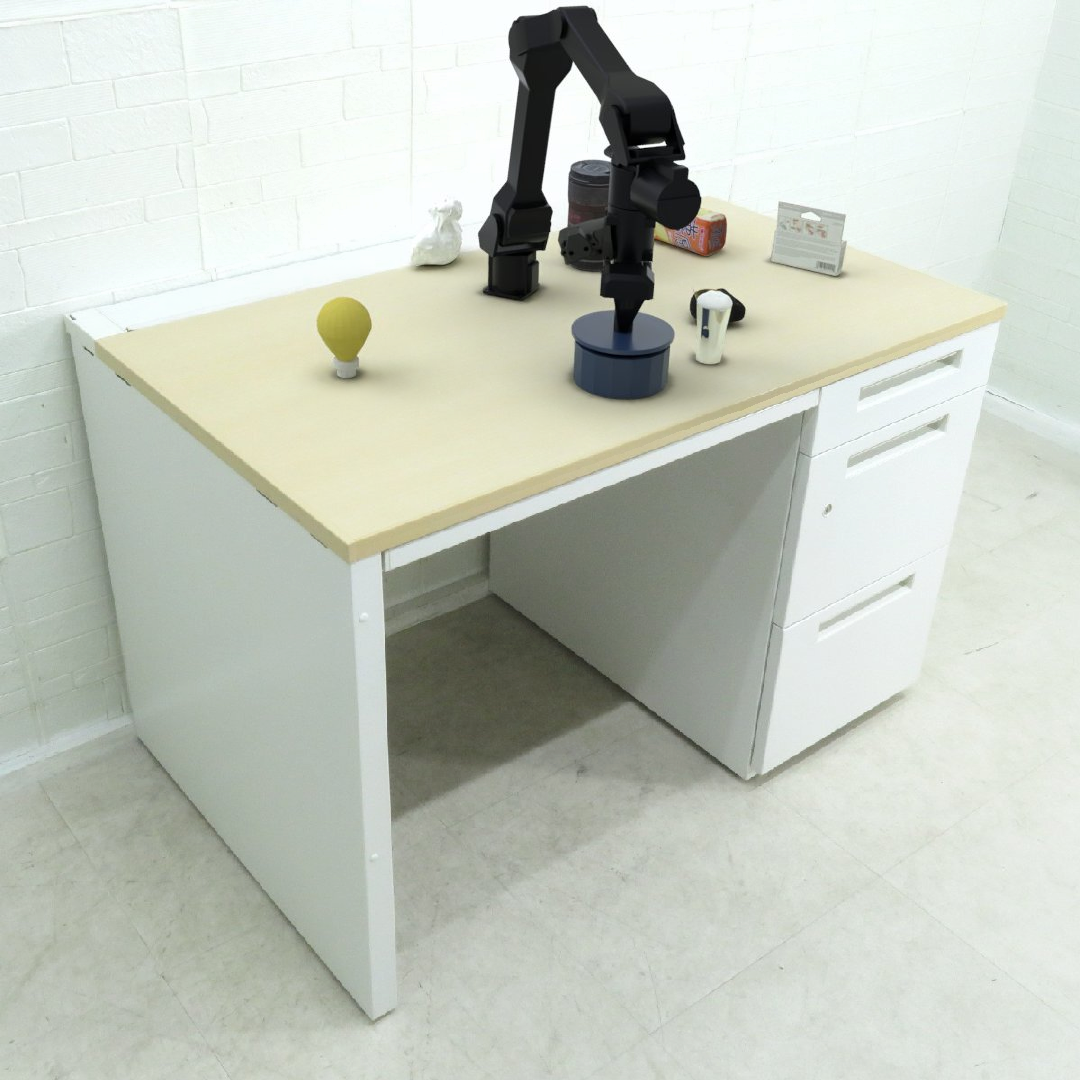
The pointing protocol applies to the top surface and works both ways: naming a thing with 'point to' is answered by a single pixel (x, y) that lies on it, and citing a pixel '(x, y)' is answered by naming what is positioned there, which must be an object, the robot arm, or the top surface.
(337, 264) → the top surface
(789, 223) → the ink cartridge box
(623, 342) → the tin lid
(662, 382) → the tin
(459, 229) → the bust
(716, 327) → the milkshake
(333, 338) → the light bulb
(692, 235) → the snack package
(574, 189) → the camera lens
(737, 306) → the tape measure
